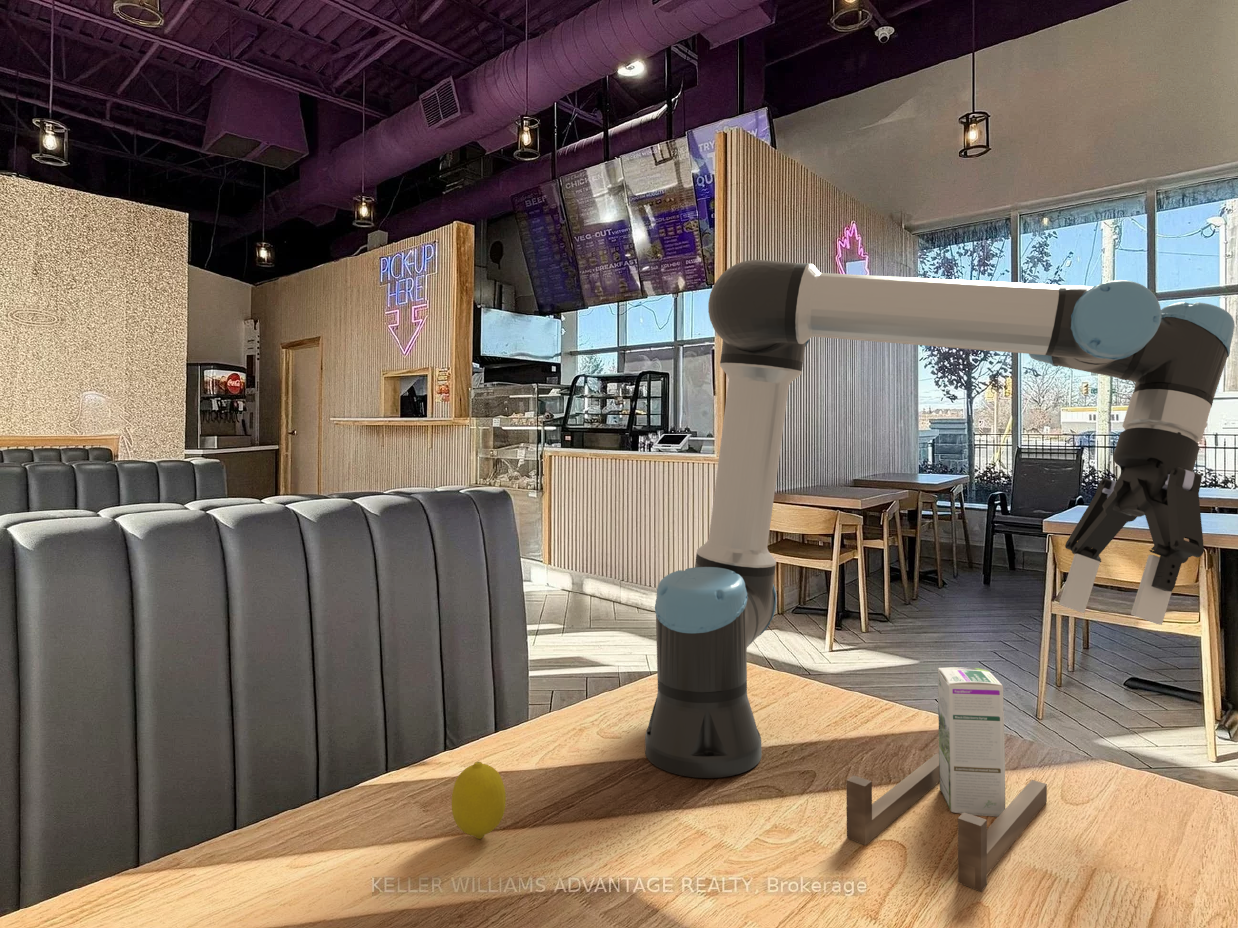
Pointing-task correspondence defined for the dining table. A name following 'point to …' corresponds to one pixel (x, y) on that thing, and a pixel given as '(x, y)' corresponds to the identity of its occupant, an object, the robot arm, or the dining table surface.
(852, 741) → the dining table surface
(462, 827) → the lemon
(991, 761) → the syrup box
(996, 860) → the brown wooden rack
